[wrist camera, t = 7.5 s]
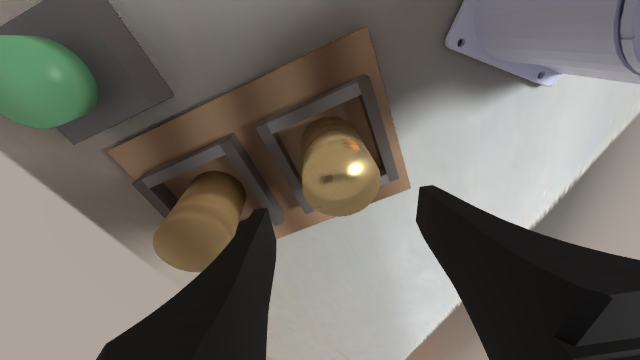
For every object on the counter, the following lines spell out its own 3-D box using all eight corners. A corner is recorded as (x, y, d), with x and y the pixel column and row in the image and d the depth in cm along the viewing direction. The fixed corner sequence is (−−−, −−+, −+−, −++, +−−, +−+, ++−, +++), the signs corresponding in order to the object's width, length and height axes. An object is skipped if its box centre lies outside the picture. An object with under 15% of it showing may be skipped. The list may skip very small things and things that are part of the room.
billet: (352, 109, 18) (375, 139, 13) (362, 162, 20) (384, 206, 15) (293, 125, 18) (292, 160, 13) (309, 175, 20) (313, 223, 15)
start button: (48, 19, 12) (9, 17, 10) (115, 100, 14) (91, 108, 12) (-16, 57, 12) (-62, 60, 11) (58, 129, 14) (28, 141, 12)
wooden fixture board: (363, 27, 16) (403, 21, 10) (406, 182, 22) (446, 235, 16) (115, 146, 19) (28, 198, 13) (216, 255, 25) (190, 324, 19)
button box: (105, -3, 14) (63, -12, 12) (174, 95, 17) (153, 105, 15) (26, 43, 15) (-30, 44, 13) (105, 129, 18) (73, 144, 16)
